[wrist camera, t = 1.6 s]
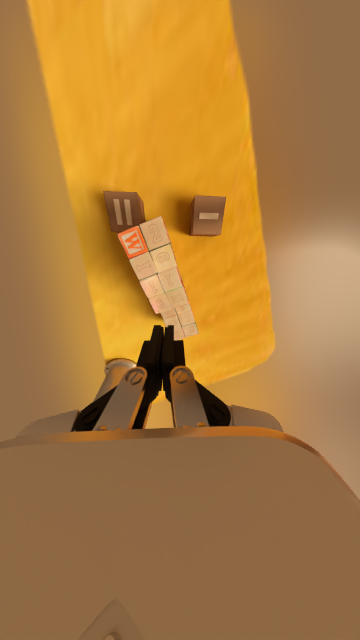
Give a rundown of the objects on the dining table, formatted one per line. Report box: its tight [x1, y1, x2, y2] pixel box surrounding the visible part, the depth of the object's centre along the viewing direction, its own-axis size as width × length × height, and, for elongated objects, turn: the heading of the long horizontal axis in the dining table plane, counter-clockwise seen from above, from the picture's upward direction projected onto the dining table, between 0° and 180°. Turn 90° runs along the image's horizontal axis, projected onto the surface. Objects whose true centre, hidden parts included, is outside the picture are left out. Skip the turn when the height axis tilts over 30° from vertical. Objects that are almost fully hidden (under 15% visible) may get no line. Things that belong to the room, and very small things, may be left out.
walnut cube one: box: [190, 196, 226, 236], centre depth 23 cm, size 5×5×5 cm
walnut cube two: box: [103, 191, 145, 233], centre depth 23 cm, size 5×5×5 cm
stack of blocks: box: [117, 216, 199, 340], centre depth 26 cm, size 21×6×12 cm, turn 18°
